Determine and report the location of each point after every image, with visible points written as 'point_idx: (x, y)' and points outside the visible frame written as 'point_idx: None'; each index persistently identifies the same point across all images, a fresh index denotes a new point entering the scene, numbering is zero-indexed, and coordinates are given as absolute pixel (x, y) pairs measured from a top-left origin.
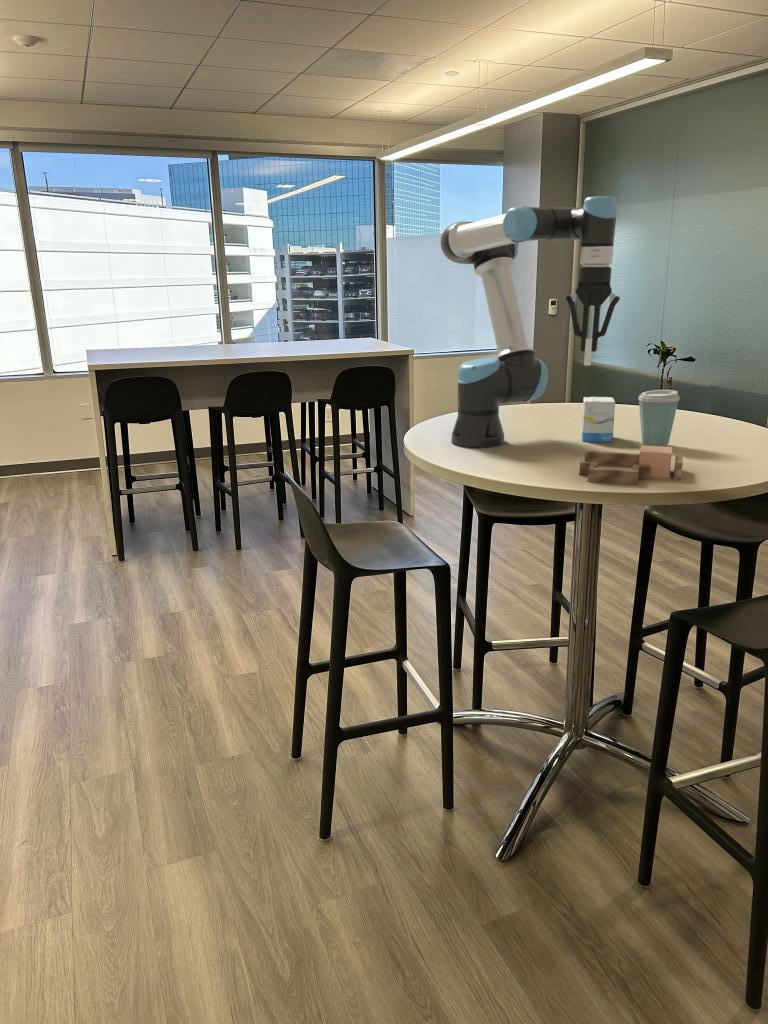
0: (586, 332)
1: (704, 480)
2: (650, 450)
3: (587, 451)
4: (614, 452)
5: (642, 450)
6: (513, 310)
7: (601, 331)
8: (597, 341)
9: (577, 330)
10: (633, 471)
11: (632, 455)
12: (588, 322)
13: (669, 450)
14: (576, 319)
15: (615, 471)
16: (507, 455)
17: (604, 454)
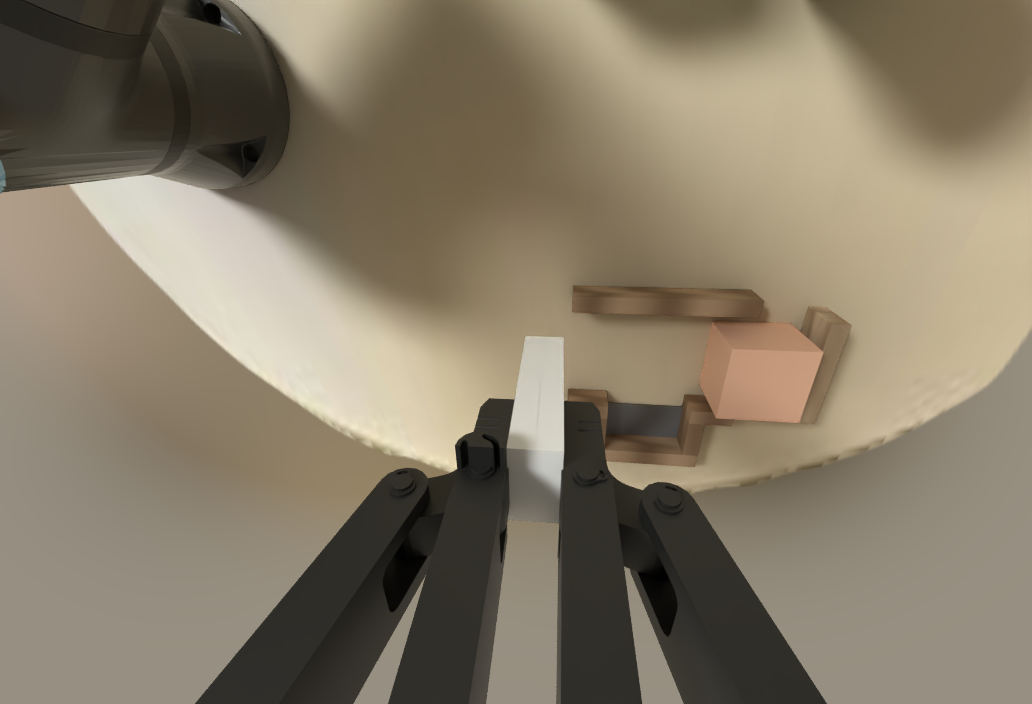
0: (502, 563)
1: (853, 391)
2: (747, 401)
3: (577, 304)
4: (653, 299)
5: (725, 404)
6: None
7: (645, 587)
8: (604, 452)
9: (413, 571)
10: (684, 463)
11: (702, 315)
12: (486, 595)
13: (802, 393)
14: (352, 695)
15: (646, 462)
16: (363, 256)
17: (625, 312)
